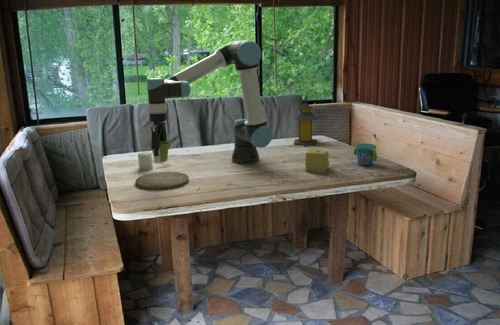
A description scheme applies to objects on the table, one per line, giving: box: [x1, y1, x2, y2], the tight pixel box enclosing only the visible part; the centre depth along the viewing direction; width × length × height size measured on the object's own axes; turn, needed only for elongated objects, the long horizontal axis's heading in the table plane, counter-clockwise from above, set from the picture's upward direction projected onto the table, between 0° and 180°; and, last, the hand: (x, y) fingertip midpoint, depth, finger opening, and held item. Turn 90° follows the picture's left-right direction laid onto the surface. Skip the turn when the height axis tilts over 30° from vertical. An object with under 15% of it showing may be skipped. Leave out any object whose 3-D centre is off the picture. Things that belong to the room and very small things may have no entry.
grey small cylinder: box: [137, 151, 154, 172], centre depth 247 cm, size 7×7×8 cm
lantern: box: [293, 94, 318, 146], centre depth 296 cm, size 14×14×30 cm
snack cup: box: [353, 143, 378, 166], centre depth 247 cm, size 16×10×10 cm
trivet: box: [135, 171, 190, 191], centre depth 225 cm, size 25×25×2 cm
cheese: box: [305, 147, 330, 174], centre depth 239 cm, size 10×11×10 cm
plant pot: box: [149, 140, 171, 163], centre depth 221 cm, size 9×9×9 cm
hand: (160, 160), depth 222 cm, fingers closed on plant pot, 8 cm apart
